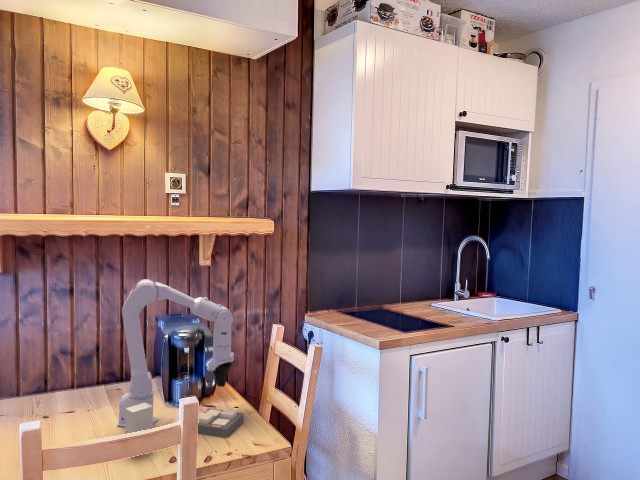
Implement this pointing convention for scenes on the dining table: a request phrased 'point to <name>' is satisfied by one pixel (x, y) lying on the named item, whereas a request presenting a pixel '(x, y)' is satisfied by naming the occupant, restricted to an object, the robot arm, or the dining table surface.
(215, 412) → the key
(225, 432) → the console
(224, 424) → the key
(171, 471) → the dining table surface
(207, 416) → the key
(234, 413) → the key
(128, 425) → the skincare box
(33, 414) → the dining table surface
